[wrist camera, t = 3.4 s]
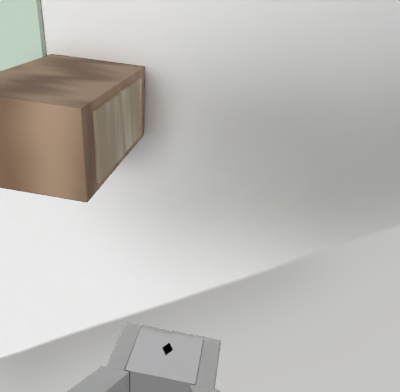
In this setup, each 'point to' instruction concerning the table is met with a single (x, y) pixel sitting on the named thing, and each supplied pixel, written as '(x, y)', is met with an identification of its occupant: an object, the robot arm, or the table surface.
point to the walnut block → (67, 124)
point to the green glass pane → (20, 32)
